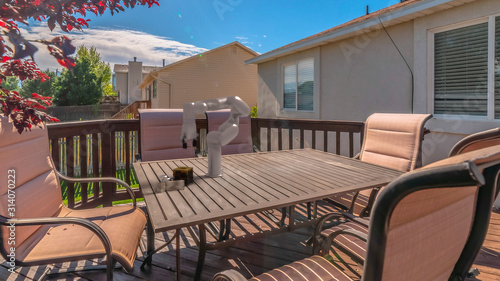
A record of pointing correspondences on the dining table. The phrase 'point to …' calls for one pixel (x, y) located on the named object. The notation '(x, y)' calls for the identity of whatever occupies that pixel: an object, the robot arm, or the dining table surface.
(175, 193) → the dining table surface
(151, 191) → the dining table surface
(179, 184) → the centring jig
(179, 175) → the candle
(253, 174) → the dining table surface
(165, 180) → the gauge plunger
